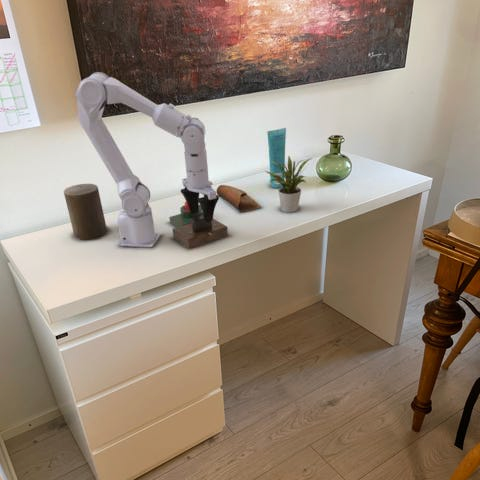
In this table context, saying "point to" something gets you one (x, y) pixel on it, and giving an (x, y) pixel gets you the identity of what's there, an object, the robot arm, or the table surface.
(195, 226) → the dark grey red block
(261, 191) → the table surface
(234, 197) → the sunglasses case
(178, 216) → the button box
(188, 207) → the button
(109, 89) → the robot arm
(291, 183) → the house plant
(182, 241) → the console
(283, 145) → the tube
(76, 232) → the pillar candle
